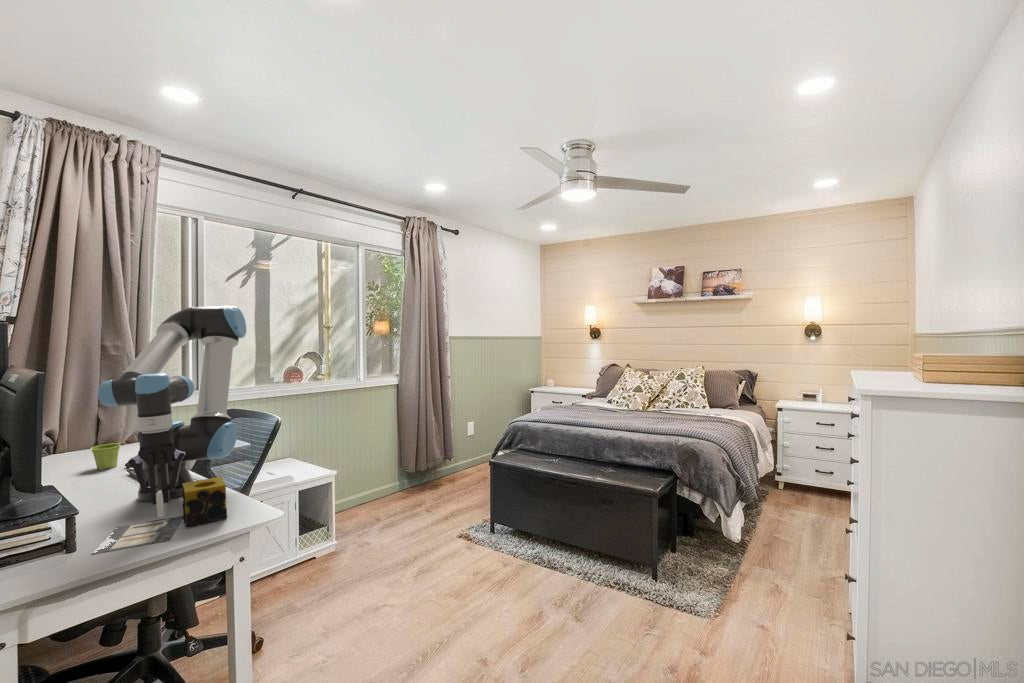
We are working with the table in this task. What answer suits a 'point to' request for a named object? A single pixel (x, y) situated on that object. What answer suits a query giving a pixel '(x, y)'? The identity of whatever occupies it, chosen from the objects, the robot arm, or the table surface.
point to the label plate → (143, 533)
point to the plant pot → (106, 455)
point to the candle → (204, 501)
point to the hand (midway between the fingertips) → (161, 514)
